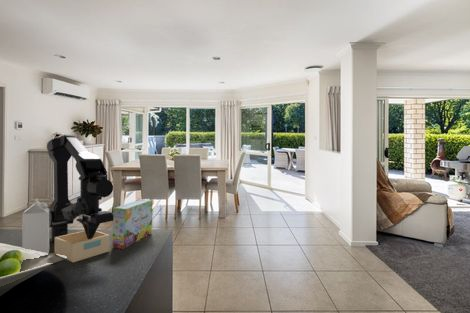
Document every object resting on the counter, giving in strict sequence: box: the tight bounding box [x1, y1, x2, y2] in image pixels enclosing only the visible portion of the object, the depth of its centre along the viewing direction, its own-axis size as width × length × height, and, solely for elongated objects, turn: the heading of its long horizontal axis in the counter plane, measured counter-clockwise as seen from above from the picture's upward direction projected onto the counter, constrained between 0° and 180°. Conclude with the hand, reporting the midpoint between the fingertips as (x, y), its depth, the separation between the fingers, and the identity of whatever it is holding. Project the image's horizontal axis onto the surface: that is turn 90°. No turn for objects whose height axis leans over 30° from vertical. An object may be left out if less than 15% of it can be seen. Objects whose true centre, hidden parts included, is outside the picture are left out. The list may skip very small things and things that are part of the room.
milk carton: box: [21, 197, 50, 254], centre depth 104 cm, size 7×7×19 cm
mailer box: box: [54, 230, 108, 263], centre depth 106 cm, size 11×13×6 cm
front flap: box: [71, 234, 111, 263], centre depth 103 cm, size 1×13×6 cm, turn 147°
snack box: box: [111, 198, 153, 250], centre depth 122 cm, size 21×6×15 cm, turn 168°
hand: (89, 239), depth 104 cm, fingers closed
